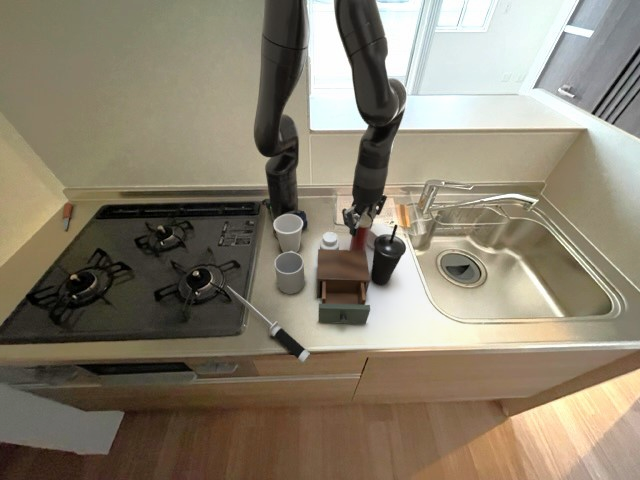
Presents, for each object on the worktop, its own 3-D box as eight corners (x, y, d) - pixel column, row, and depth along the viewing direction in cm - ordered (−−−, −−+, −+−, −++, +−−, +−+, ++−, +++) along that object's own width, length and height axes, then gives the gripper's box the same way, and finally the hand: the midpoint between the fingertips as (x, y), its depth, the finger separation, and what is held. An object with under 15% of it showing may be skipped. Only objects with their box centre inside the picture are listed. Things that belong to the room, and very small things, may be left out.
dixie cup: (307, 240, 81) (306, 216, 74) (298, 260, 76) (297, 236, 68) (282, 235, 83) (279, 211, 76) (272, 254, 77) (268, 229, 70)
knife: (308, 357, 58) (311, 349, 54) (301, 366, 56) (304, 359, 52) (232, 288, 66) (230, 277, 62) (224, 294, 64) (221, 284, 61)
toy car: (271, 221, 78) (281, 233, 76) (303, 207, 84) (313, 217, 81) (272, 234, 83) (281, 245, 80) (302, 219, 88) (312, 229, 86)
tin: (347, 253, 76) (352, 223, 68) (350, 242, 80) (355, 212, 71) (363, 257, 75) (370, 226, 67) (366, 245, 79) (372, 215, 70)
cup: (276, 294, 67) (272, 273, 61) (280, 264, 74) (277, 243, 68) (303, 295, 67) (302, 274, 61) (305, 265, 74) (304, 244, 68)
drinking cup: (387, 266, 75) (405, 213, 61) (397, 287, 70) (419, 235, 55) (362, 269, 74) (374, 216, 60) (370, 291, 69) (386, 239, 54)
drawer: (366, 328, 60) (371, 314, 55) (318, 327, 60) (318, 313, 55) (362, 293, 67) (366, 278, 62) (319, 292, 67) (319, 276, 62)
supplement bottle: (336, 268, 74) (338, 245, 67) (317, 265, 75) (318, 242, 68) (338, 254, 78) (341, 231, 71) (321, 251, 78) (322, 228, 71)
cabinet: (364, 299, 67) (370, 280, 61) (316, 298, 67) (317, 278, 61) (361, 270, 74) (365, 250, 67) (317, 269, 74) (318, 249, 67)
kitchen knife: (73, 204, 92) (66, 206, 91) (70, 201, 91) (63, 203, 90) (70, 230, 82) (63, 232, 82) (68, 227, 81) (60, 229, 81)
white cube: (365, 242, 82) (368, 228, 78) (378, 235, 84) (382, 221, 80) (378, 253, 78) (382, 240, 74) (392, 246, 81) (396, 232, 76)
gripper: (379, 163, 65) (369, 215, 77) (336, 181, 59) (332, 234, 71) (402, 176, 61) (387, 229, 73) (358, 196, 55) (350, 250, 67)
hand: (360, 231), depth 72 cm, fingers closed on tin, 4 cm apart
